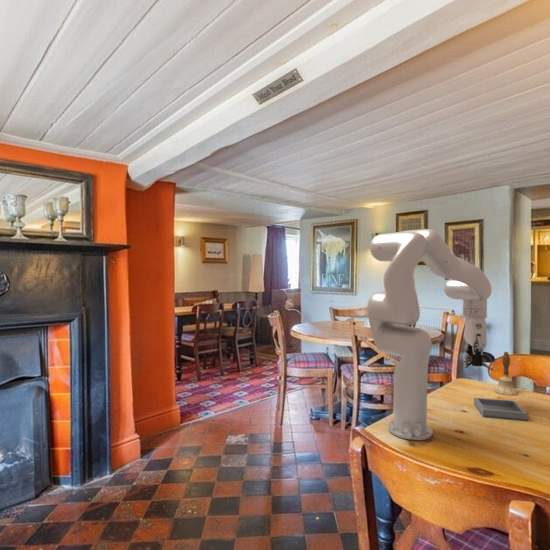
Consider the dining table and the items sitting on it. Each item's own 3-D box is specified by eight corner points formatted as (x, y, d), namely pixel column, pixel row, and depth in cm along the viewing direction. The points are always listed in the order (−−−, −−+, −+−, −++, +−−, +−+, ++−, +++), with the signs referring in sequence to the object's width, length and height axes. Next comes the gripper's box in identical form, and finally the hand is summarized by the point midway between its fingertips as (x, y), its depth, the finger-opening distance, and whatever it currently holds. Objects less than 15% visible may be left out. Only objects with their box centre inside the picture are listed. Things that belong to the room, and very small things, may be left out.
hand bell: (521, 396, 146) (522, 355, 146) (498, 394, 148) (498, 353, 148) (512, 389, 155) (513, 350, 154) (490, 388, 156) (491, 349, 156)
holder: (527, 421, 123) (527, 413, 123) (483, 416, 126) (483, 409, 126) (514, 407, 135) (514, 400, 134) (474, 404, 138) (474, 397, 138)
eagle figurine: (471, 369, 130) (498, 365, 129) (464, 349, 134) (490, 345, 133) (466, 375, 137) (492, 372, 136) (459, 356, 141) (485, 353, 140)
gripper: (494, 316, 125) (493, 370, 126) (479, 310, 142) (478, 358, 143) (469, 315, 127) (469, 369, 128) (457, 309, 144) (456, 357, 144)
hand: (473, 362), depth 135 cm, fingers closed on eagle figurine, 6 cm apart
